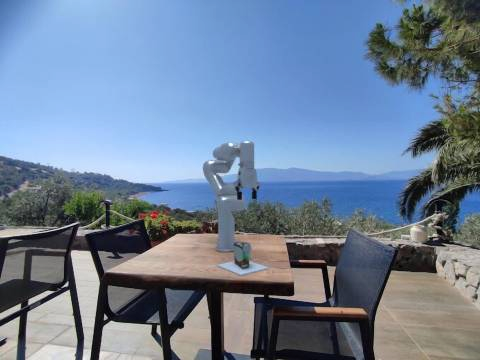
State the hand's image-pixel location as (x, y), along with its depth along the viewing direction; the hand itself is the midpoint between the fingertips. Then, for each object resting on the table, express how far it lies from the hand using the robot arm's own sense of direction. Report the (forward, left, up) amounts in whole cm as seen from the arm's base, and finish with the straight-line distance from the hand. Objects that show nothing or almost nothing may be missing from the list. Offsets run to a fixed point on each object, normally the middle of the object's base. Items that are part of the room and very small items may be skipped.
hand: (247, 199), depth 143 cm
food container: (+10, -10, -30) cm, 33 cm away
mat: (+10, -11, -30) cm, 34 cm away
